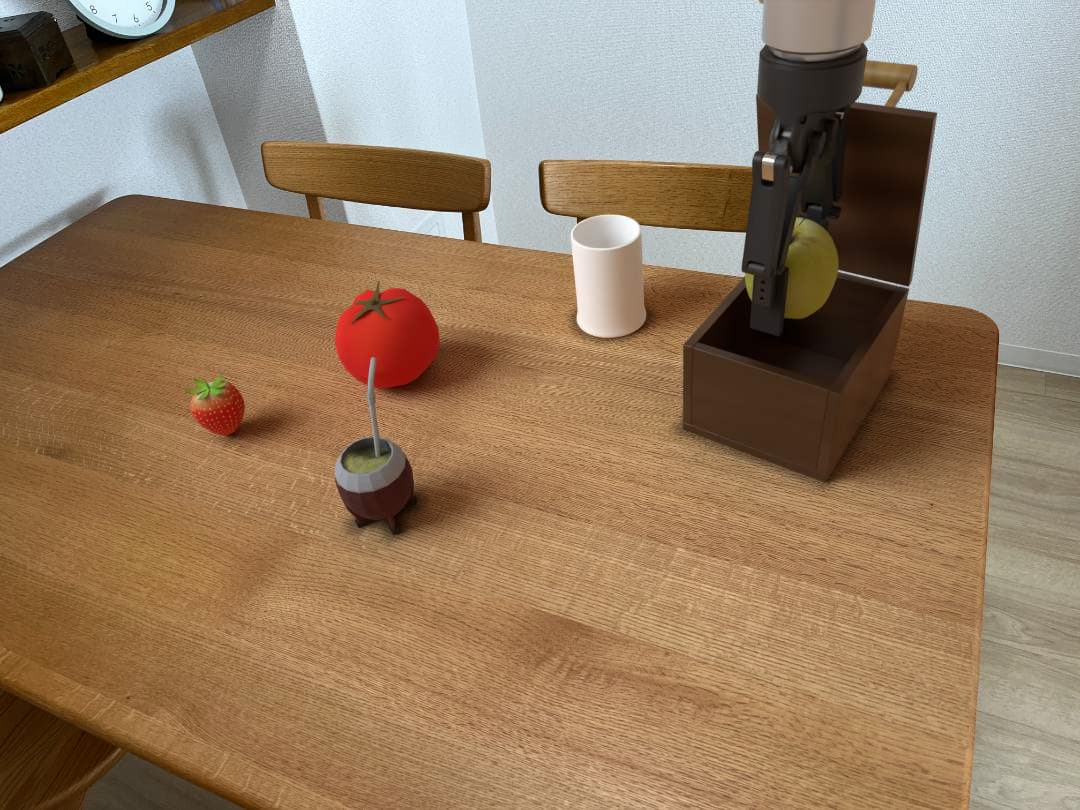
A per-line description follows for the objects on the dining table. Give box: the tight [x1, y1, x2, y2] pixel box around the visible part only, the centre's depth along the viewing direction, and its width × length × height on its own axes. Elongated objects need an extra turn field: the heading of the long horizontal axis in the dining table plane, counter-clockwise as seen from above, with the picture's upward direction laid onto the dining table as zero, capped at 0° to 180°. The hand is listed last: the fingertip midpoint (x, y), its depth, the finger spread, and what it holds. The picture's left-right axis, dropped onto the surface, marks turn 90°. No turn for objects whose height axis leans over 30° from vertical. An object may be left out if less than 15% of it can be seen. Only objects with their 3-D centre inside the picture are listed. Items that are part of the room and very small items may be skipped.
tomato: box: [334, 280, 441, 389], centre depth 92 cm, size 12×12×11 cm
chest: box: [682, 271, 910, 483], centre depth 81 cm, size 18×15×11 cm
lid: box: [755, 59, 938, 288], centre depth 77 cm, size 19×15×10 cm
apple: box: [744, 214, 839, 319], centre depth 70 cm, size 8×8×10 cm
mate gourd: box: [334, 358, 418, 536], centre depth 75 cm, size 8×8×15 cm
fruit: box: [182, 373, 246, 436], centre depth 88 cm, size 5×5×8 cm
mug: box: [570, 214, 647, 339], centre depth 97 cm, size 12×8×12 cm
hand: (786, 304), depth 73 cm, fingers closed on apple, 8 cm apart
